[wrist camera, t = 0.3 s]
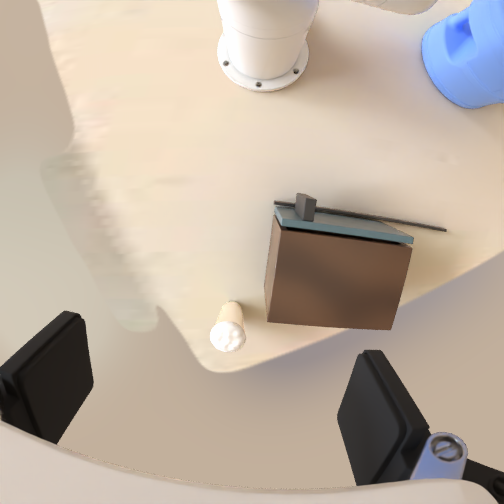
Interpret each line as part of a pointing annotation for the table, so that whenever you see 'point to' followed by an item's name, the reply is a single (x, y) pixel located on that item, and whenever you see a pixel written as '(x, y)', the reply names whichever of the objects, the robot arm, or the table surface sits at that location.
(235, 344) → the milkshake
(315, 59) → the table surface
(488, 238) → the table surface
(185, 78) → the table surface
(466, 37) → the water jug
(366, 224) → the glass door
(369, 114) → the table surface
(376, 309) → the cabinet
